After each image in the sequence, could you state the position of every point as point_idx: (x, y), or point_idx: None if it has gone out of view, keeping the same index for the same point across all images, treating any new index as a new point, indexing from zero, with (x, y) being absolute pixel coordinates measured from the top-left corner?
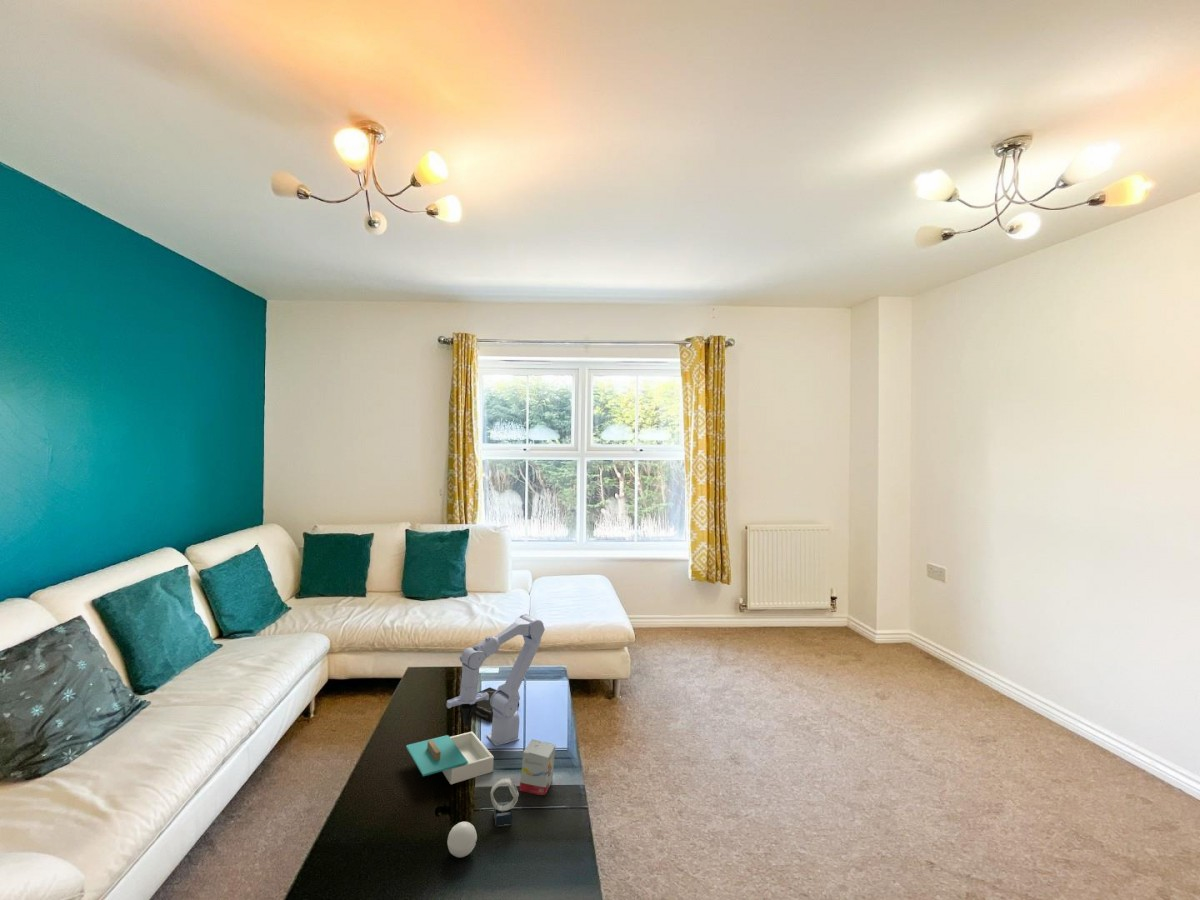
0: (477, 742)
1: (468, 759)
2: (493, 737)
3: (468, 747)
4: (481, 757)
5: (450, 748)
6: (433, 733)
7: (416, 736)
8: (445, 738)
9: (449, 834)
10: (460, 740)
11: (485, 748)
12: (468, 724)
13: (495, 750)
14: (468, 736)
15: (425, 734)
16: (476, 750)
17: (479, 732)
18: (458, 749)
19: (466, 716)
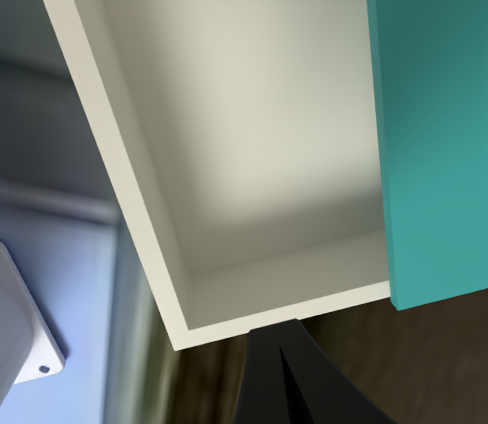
0: (144, 192)
1: (228, 90)
2: (6, 312)
3: (205, 247)
4: (121, 69)
5: (450, 71)
6: None
7: (455, 405)
8: (434, 261)
9: None
10: (271, 284)
11: (64, 22)
12: (256, 334)
13: (3, 186)
14: (209, 309)
15: (409, 415)
16: (155, 176)
17: (112, 401)
18: (381, 24)
19: (353, 421)
